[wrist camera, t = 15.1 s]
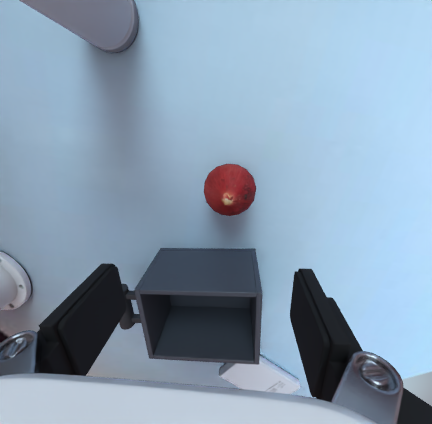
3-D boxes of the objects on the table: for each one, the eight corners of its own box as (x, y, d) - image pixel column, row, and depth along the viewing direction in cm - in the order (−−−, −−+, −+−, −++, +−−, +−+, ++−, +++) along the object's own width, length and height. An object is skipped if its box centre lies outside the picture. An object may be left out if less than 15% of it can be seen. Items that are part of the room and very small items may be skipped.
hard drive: (247, 345, 38) (299, 378, 40) (219, 368, 41) (269, 398, 43) (247, 354, 37) (301, 388, 38) (218, 377, 39) (270, 408, 41)
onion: (256, 162, 27) (265, 175, 19) (249, 206, 29) (254, 232, 21) (210, 157, 27) (200, 167, 19) (206, 200, 29) (196, 225, 22)
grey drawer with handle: (141, 304, 37) (113, 356, 28) (129, 248, 33) (93, 288, 24) (253, 308, 35) (259, 365, 26) (255, 248, 31) (262, 293, 22)
